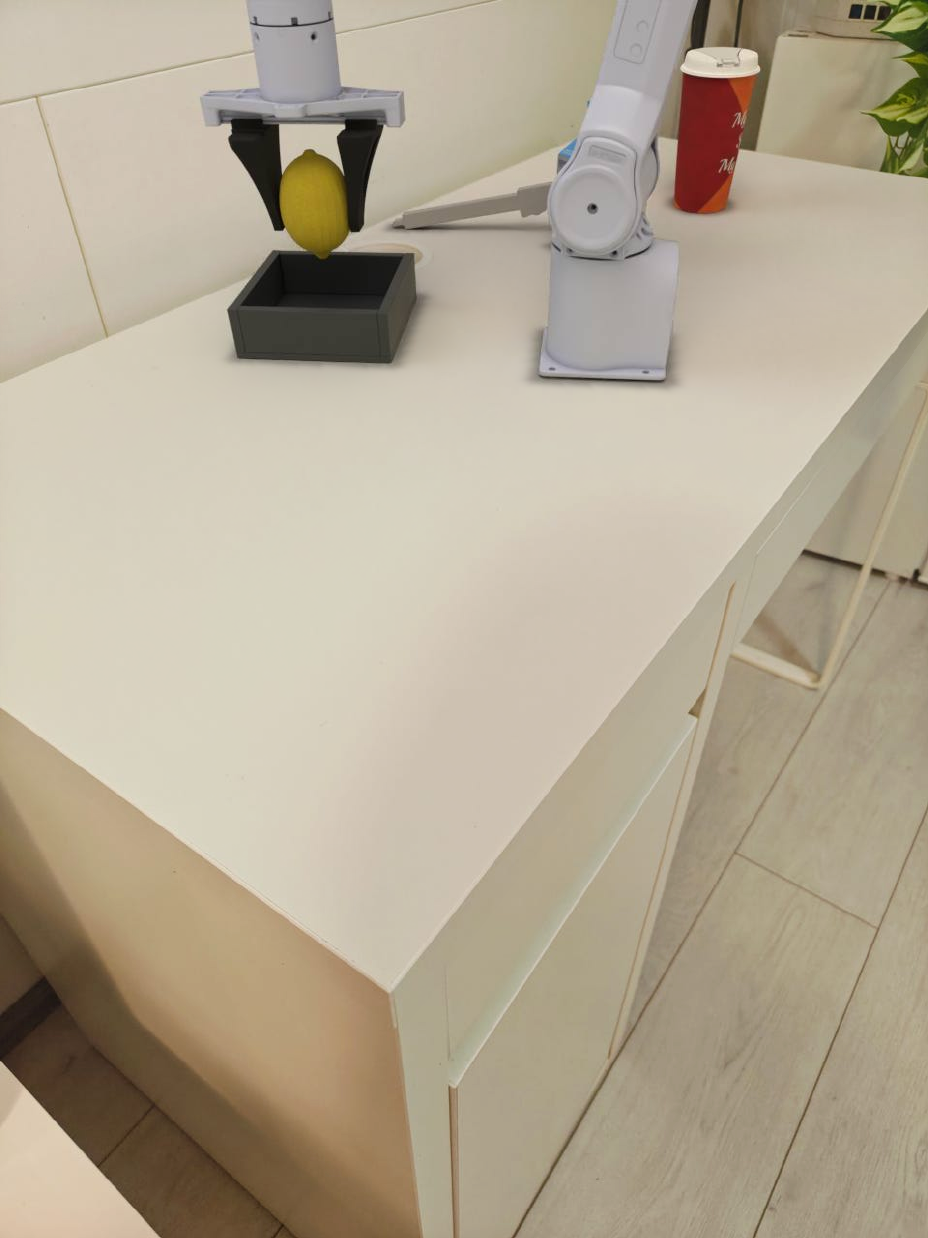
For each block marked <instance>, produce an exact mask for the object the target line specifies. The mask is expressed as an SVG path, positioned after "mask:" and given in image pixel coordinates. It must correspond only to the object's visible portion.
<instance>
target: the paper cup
mask: <svg viewBox="0 0 928 1238" xmlns="http://www.w3.org/2000/svg"><path fill="white" fill-rule="evenodd" d="M679 70H680V71H681V72H682V79H681V80H682V81H681V93H680V94H681V95H680V108H679V117H678V118H679V121H678V131H677V132H678V133H677V145H676V156H675V158H676V160H675V170H674V171H675V173H674V186H673V187H674V188H673V206H674V207H675V208H676V209H678V210H680V211H682V212H687V213H692V214H713V213H718V212H721V211H723V210H724V209H726V206H727V203H728V200H729V196H730V190H731V187H732V184H733V183H732V182H733V180H734V179H733V178H734V175H735V170H736V165H737V162H738V156H739V153H740V147H741V144H742V143H741V142H742V140H743V134H744V130H745V126H746V121H747V116H748V112H749V108H750V103H751V99H752V94H753V90H754V86H755V80H756V76H757V74H759V73H761V67H760V65H759V54H758V52H756V51H754V50H752V49H748V48H741V47H733V46H732V47H731V46H709V47H699V48H695V49H691V50H689V51H687V53H686V55H685V59H684V61H683V63H682V64H681V66H680V68H679Z"/></svg>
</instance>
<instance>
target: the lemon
mask: <svg viewBox="0 0 928 1238" xmlns="http://www.w3.org/2000/svg"><path fill="white" fill-rule="evenodd" d="M280 211H281V216H282V220H283V223H284V226H285V230H286V232H287V233H288V235H289V237H290V239H292V241H293V242H294V243H295V244H296V245H297V246H299V248H301V249H303V250H304V251H310V252H313V253H314V254H315V255H316V256H317V257H318V258H320V259H325V258H327V257H328V256H329V254H330V253H331V252H333V251H334V250H337V249H338V248H340V246H341V245H342V244H344V243H345V241H346V240H347V238H348V236H349V234H350V233H351V232H350V227H349V221H348V208H347V192H346V184H345V178H344V172H343V170H341V168H340V167H339V166H338V164H337V163H335V162H334V161H333V160H332V159H330V158H328V157H327V156H325V155H323V154H321V153H317V152H316V151H315V150H314V148H313V149H312V148H307V149H304V151H303V153H302V154H300V155H299V156H297V157H295V158H294V159H293V160H292V161H290V162H289V164H288V165H287V166H286V167H285V169H284V171H283V172H282V179H281V185H280Z"/></svg>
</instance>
